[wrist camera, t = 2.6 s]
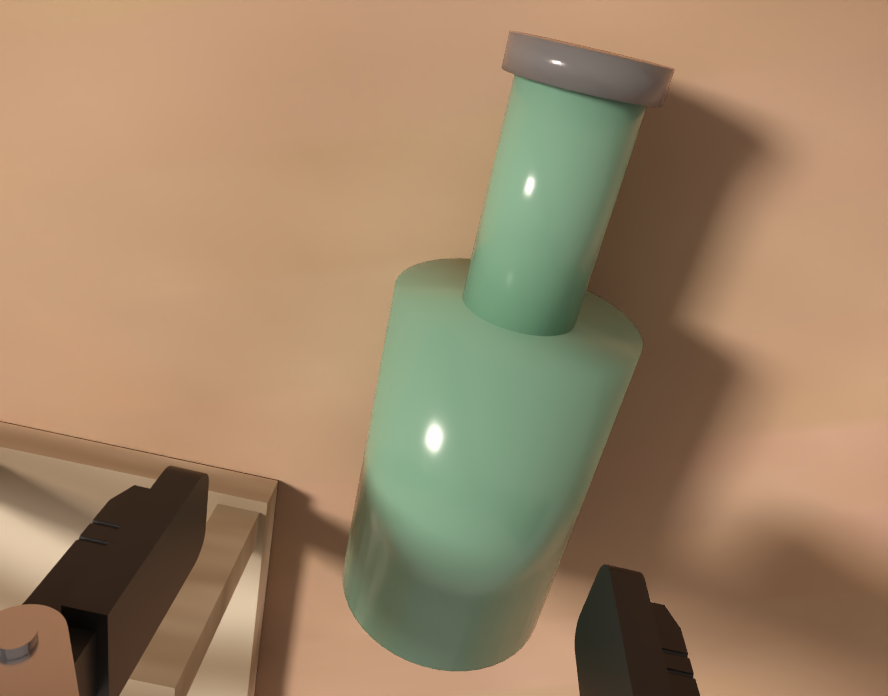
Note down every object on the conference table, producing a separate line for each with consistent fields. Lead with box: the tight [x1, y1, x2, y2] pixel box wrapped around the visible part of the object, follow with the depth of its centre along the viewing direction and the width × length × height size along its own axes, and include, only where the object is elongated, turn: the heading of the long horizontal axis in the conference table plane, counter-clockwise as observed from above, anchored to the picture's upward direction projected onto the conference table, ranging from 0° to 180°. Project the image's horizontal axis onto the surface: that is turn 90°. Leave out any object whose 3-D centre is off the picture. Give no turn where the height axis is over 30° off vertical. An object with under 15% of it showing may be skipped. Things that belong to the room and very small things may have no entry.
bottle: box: [343, 31, 675, 671], centre depth 15 cm, size 13×5×5 cm
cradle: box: [0, 422, 278, 696], centre depth 20 cm, size 13×10×6 cm
